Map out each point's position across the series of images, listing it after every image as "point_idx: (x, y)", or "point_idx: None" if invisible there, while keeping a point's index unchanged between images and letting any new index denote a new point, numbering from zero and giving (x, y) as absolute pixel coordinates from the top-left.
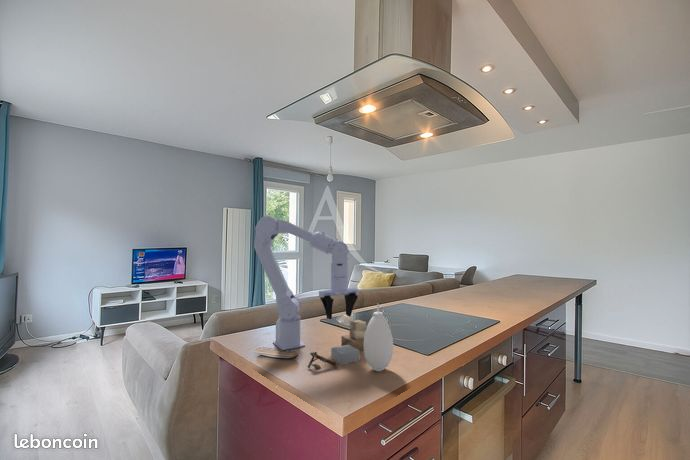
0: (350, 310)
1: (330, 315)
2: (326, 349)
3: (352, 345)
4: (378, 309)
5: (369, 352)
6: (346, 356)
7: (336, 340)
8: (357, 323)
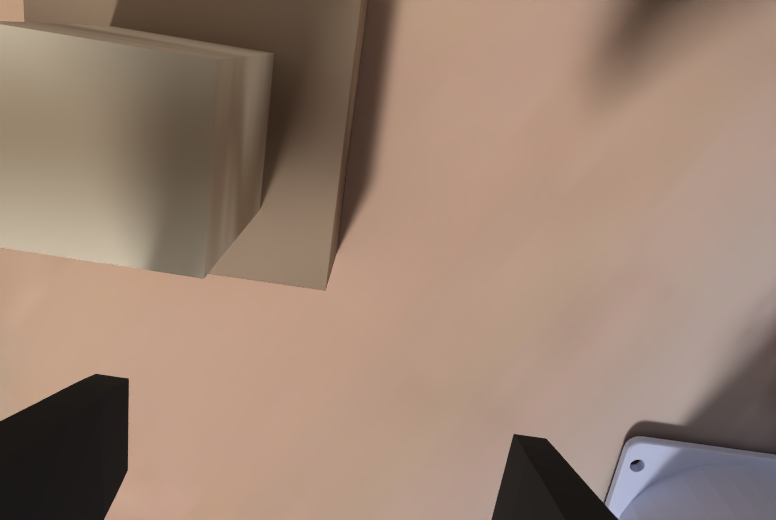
0: (56, 424)
1: (564, 468)
2: (536, 249)
3: (360, 33)
4: None
5: None
6: None
7: (284, 391)
8: (171, 75)
